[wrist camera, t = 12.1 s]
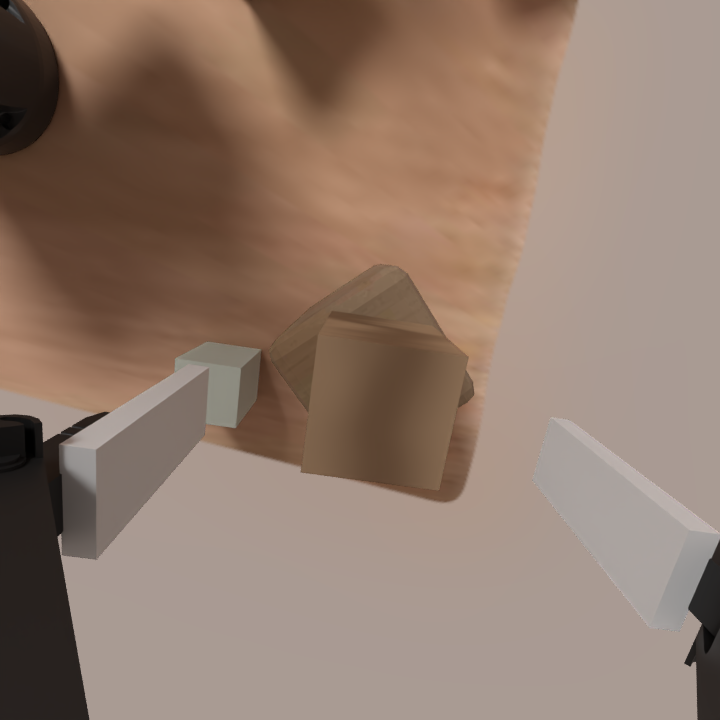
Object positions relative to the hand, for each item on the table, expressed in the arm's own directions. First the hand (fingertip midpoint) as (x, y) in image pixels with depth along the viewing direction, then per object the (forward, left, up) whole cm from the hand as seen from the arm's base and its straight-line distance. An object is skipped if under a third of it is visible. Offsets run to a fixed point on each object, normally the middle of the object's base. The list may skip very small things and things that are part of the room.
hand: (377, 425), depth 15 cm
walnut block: (0, 0, -9) cm, 9 cm away
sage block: (-14, -8, -29) cm, 33 cm away
